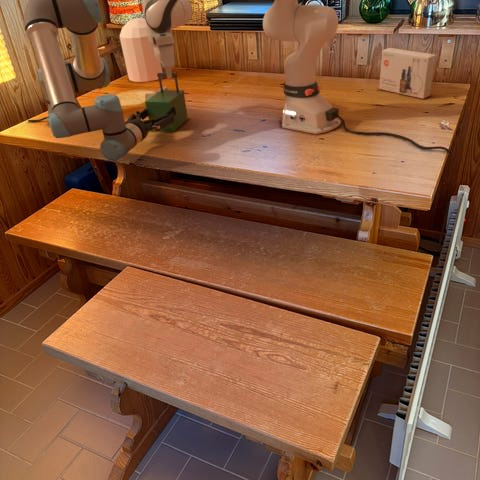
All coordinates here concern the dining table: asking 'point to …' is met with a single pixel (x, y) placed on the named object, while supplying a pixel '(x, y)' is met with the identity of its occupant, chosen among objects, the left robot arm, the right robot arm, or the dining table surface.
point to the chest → (161, 110)
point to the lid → (165, 92)
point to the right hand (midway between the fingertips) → (166, 74)
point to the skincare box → (407, 72)
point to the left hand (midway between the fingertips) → (162, 110)
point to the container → (139, 52)
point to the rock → (149, 95)
